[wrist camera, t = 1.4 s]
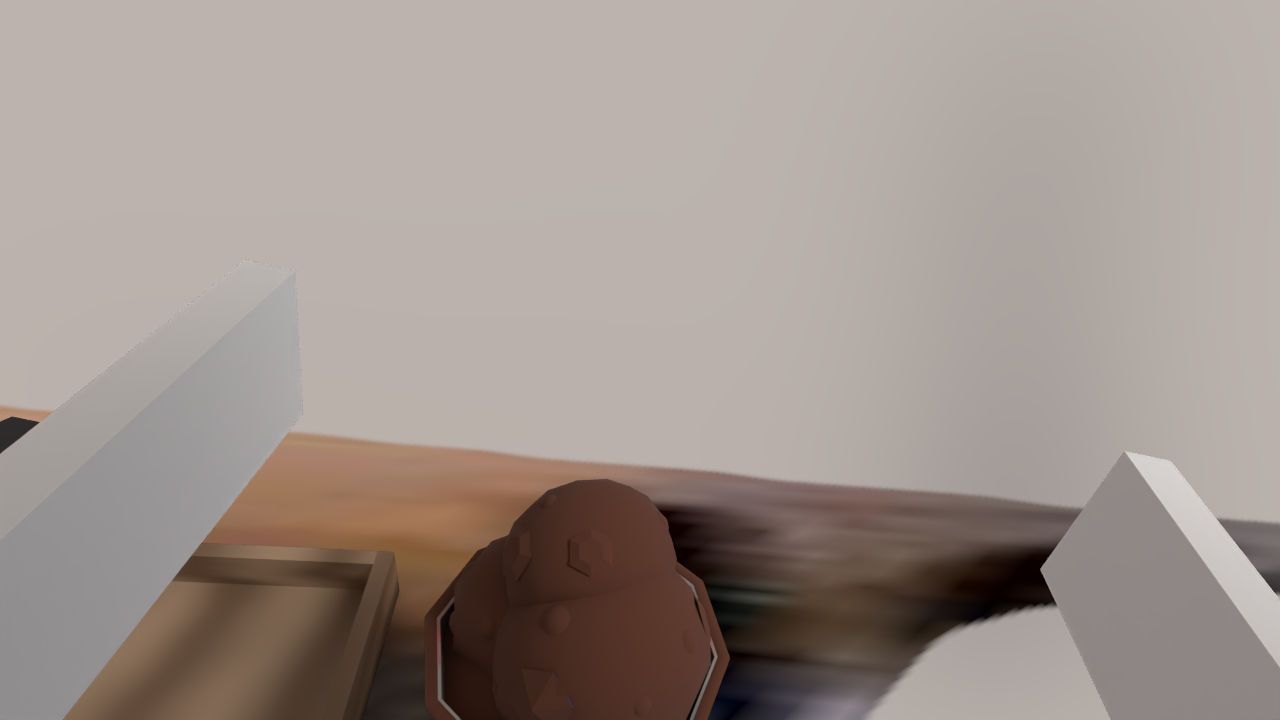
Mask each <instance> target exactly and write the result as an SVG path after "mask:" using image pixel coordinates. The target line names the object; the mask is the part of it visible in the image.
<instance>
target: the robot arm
mask: <svg viewBox="0 0 1280 720" xmlns="http://www.w3.org/2000/svg"><path fill="white" fill-rule="evenodd" d="M300 368H301V367H300V348H299V329H298V312H297V292H296V273H295V270H290V269H286V268H281V267H276V266H272V265H267V264H263V263H258V262H254V261H249V260H244V261H243V262H242V263H240V264H239V265H238V266H237V267H235V268H234V269H233V270H232V271H230V272H229V273H228V274H227V275H225V276H224V277H223V278H221V279H220V280H219V281H218V282H216V283H215V284H214V285H213V286H211V287H210V288H209V289H208V290H206V291H205V292H204V293H202V294H201V295H200V296H199V297H198V298H196V299H195V300H194V301H192V302H191V303H190V304H189V305H187V306H186V307H185V308H184V309H182V310H181V311H180V312H179V313H177V314H176V315H175V316H173V317H172V318H171V319H170V320H168V321H167V322H166V323H165V324H163V325H162V326H161V327H160V328H158V329H157V330H156V331H155V332H153V333H152V334H151V335H150V336H148V337H147V338H146V339H144V340H143V341H142V342H141V343H139V344H138V345H137V346H136V347H134V348H133V349H132V350H131V351H129V352H128V353H127V354H126V355H124V356H123V357H122V358H120V359H119V360H118V361H117V362H115V363H114V364H113V365H112V366H110V367H109V368H108V369H107V370H105V371H104V372H103V373H102V374H100V375H99V376H98V377H97V378H95V379H94V380H93V381H91V382H90V383H89V384H88V385H86V386H85V387H84V388H83V389H82V390H80V391H79V392H78V393H76V394H75V395H74V396H73V397H71V398H70V399H69V400H68V401H66V402H65V403H64V404H62V405H61V406H60V407H59V408H58V409H56V410H55V411H54V412H52V413H51V414H50V415H49V416H47V417H46V418H45V419H44V420H42V421H41V422H36V421H31V420H26V419H21V418H17V417H10V418H8V419H5V420H3V421H1V422H0V720H63V719H64V717H65V716H66V715H67V713H68V712H69V711H70V710H71V708H72V707H73V706H74V705H75V703H76V702H77V701H78V699H79V698H80V697H81V696H82V694H83V693H84V692H85V690H86V689H87V688H88V687H89V685H90V684H91V683H92V682H93V680H94V679H95V678H96V676H97V675H98V674H99V673H100V671H101V670H102V669H103V668H104V666H105V665H106V664H107V662H108V661H109V660H110V659H111V657H112V656H113V655H114V654H115V652H116V651H117V650H118V648H119V647H120V646H121V645H122V643H123V642H124V641H125V640H126V638H127V637H128V636H129V634H130V633H131V632H132V631H133V629H134V628H135V627H136V626H137V624H138V623H139V622H140V620H141V619H142V618H143V617H144V615H145V614H146V613H147V611H148V610H149V609H150V608H151V606H152V605H153V604H154V603H155V601H156V600H157V599H158V597H159V596H160V595H161V594H162V592H163V591H164V590H165V589H166V587H167V586H168V585H169V583H170V582H171V581H172V580H173V578H174V577H175V576H176V575H177V573H178V572H179V571H180V569H181V568H182V567H183V566H184V564H185V563H186V562H187V561H188V559H189V558H190V557H191V555H192V554H193V553H194V552H195V550H196V549H197V548H198V547H199V545H200V544H201V543H202V541H203V540H204V539H205V538H206V536H207V535H208V534H209V533H210V531H211V530H212V529H213V527H214V526H215V525H216V524H217V522H218V521H219V520H220V518H221V517H222V516H223V515H224V513H225V512H226V511H227V510H228V508H229V507H230V506H231V504H232V503H233V502H234V501H235V499H236V498H237V497H238V496H239V494H240V493H241V492H242V490H243V489H244V488H245V487H246V485H247V484H248V483H249V482H250V480H251V479H252V478H253V476H254V475H255V474H256V473H257V471H258V470H259V469H260V468H261V466H262V465H263V464H264V462H265V461H266V460H267V459H268V457H269V456H270V455H271V454H272V452H273V451H274V450H275V448H276V447H277V446H278V445H279V443H280V442H281V441H282V439H283V438H284V437H285V436H286V434H287V433H288V432H289V431H290V429H291V428H292V427H293V425H294V424H295V423H296V422H297V420H298V419H299V418H300V417H301V415H302V414H303V404H302V386H301V369H300ZM1040 570H1041V572H1042V574H1043V576H1044V578H1045V580H1046V582H1047V585H1048V587H1049V589H1050V591H1051V593H1052V595H1053V597H1054V599H1055V602H1056V604H1057V606H1058V608H1059V610H1060V612H1061V614H1062V616H1063V619H1064V621H1065V623H1066V625H1067V627H1068V629H1069V631H1070V633H1071V636H1072V637H1073V640H1074V642H1075V644H1076V646H1077V648H1078V650H1079V652H1080V655H1081V657H1082V659H1083V661H1084V663H1085V665H1086V667H1087V670H1088V672H1089V674H1090V676H1091V678H1092V680H1093V682H1094V684H1095V686H1096V689H1097V691H1098V693H1099V695H1100V697H1101V699H1102V701H1103V703H1104V706H1105V708H1106V710H1107V712H1108V714H1109V716H1110V718H1111V720H1280V599H1279V598H1278V597H1277V596H1276V594H1275V593H1274V592H1273V590H1272V589H1271V588H1270V587H1269V585H1268V584H1267V583H1266V582H1265V580H1264V579H1263V578H1262V576H1261V575H1260V574H1259V573H1258V571H1257V570H1256V569H1255V568H1254V566H1253V565H1252V564H1251V562H1250V561H1249V560H1248V559H1247V557H1246V556H1245V555H1244V554H1243V552H1242V551H1241V550H1240V548H1239V547H1238V546H1237V545H1236V543H1235V542H1234V541H1233V540H1232V538H1231V537H1230V536H1229V534H1228V533H1227V532H1226V531H1225V529H1224V528H1223V527H1222V525H1221V524H1220V523H1219V522H1218V520H1217V519H1216V518H1215V517H1214V515H1213V514H1212V513H1211V511H1210V510H1209V509H1208V508H1207V507H1206V505H1205V504H1204V503H1203V501H1202V500H1201V499H1200V498H1199V496H1198V495H1197V494H1196V492H1195V491H1194V490H1193V489H1192V487H1191V486H1190V485H1189V483H1188V482H1187V481H1186V480H1185V479H1184V477H1183V476H1182V475H1181V473H1180V472H1179V471H1178V469H1176V467H1175V466H1174V464H1173V463H1172V462H1171V461H1168V460H1163V459H1158V458H1154V457H1149V456H1145V455H1140V454H1136V453H1131V452H1127V451H1124V452H1123V454H1122V455H1121V457H1120V458H1119V459H1118V461H1117V462H1116V464H1115V465H1114V466H1113V468H1112V469H1111V471H1110V472H1109V474H1108V475H1107V477H1106V478H1105V479H1104V481H1103V482H1102V483H1101V485H1100V486H1099V488H1098V489H1097V491H1096V492H1095V493H1094V495H1093V496H1092V497H1091V499H1090V500H1089V502H1088V503H1087V504H1086V506H1085V507H1084V509H1083V510H1082V511H1081V513H1080V514H1079V516H1078V517H1077V519H1076V520H1075V521H1074V523H1073V524H1072V526H1071V527H1070V528H1069V530H1068V531H1067V533H1066V534H1065V535H1064V537H1063V538H1062V540H1061V541H1060V542H1059V544H1058V545H1057V547H1056V548H1055V550H1054V551H1053V552H1052V554H1051V555H1050V557H1049V558H1048V559H1047V561H1046V562H1045V564H1044V565H1043V566H1042V568H1041V569H1040Z"/></svg>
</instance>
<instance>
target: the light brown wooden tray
mask: <svg viewBox="0 0 1280 720" xmlns="http://www.w3.org/2000/svg"><path fill="white" fill-rule="evenodd" d="M398 593H399V584H398V577H397V570H396V563H395V556H394V552H387V551H365V550H343V549H322V548H300V547H278V546H256V545H235V544H213V543H201V544H200V545H199V547H198V548H197V549H196V550H195V552H194V553H193V554H192V555H191V557H190V558H189V559H188V561H187V562H186V563H185V564H184V566H183V567H182V568H181V569H180V571H179V572H178V573H177V575H176V576H175V577H174V578H173V580H172V581H171V582H170V583H169V585H168V586H167V587H166V589H165V590H164V591H163V592H162V594H161V595H160V596H159V597H158V599H157V600H156V601H155V603H154V604H153V605H152V606H151V608H150V609H149V610H148V611H147V613H146V614H145V615H144V617H143V618H142V619H141V620H140V622H139V623H138V624H137V626H136V627H135V628H134V629H133V631H132V632H131V633H130V634H129V636H128V637H127V638H126V640H125V641H124V642H123V643H122V645H121V646H120V647H119V648H118V650H117V651H116V652H115V654H114V655H113V656H112V657H111V659H110V660H109V661H108V662H107V664H106V665H105V666H104V668H103V669H102V670H101V671H100V673H99V674H98V675H97V676H96V678H95V679H94V680H93V682H92V683H91V684H90V685H89V687H88V688H87V689H86V690H85V692H84V693H83V694H82V696H81V697H80V698H79V699H78V701H77V702H76V703H75V705H74V706H73V707H72V708H71V710H70V711H69V712H68V713H67V715H66V716H65V717H64V719H63V720H362V718H363V715H364V711H365V708H366V704H367V701H368V697H369V694H370V691H371V687H372V684H373V680H374V677H375V673H376V670H377V666H378V663H379V659H380V656H381V652H382V649H383V645H384V642H385V638H386V635H387V631H388V628H389V624H390V621H391V618H392V614H393V611H394V607H395V604H396V600H397V597H398Z"/></svg>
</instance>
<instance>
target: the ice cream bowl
mask: <svg viewBox="0 0 1280 720" xmlns="http://www.w3.org/2000/svg"><path fill="white" fill-rule="evenodd" d="M668 528H669V526H668V523H667V519H666V518H665V517H664V516H663V515H662V514H661V513H660V512H659V510H658V509H657V508H656V507H655V505H654V504H653V503H652V501H651V500H650V499H649V498H648V496H646V495H644V494H642V493H640V492H639V491H637V490H635V489H633V488H631V487H629V486H626V485H623V484H620V483H617V482H614V481H611V480H608V479H599V480H578V481H574V482H571V483H568V484H565V485H562V486H559V487H557V488H554V489H551V490H548V491H547V492H546V493H545V494H544V495H542V496H541V497H540V498H539V499H538V500H537V501H536V502H535V503H533V504H532V505H531V506H530V507H529V508H528V509H527V510H526V511H525V512H524V513H523V514H522V515H521V516H520V517H519V518H518V519H517V520H516V521H515V522H514V524H513V526H512V528H511V531H510V533H509V535H508V536H505V537H502V538H499V539H497V540H494V541H492V542H491V543H490V544H489V545H488V546H487V547H486V548H483V549H480V550H478V551H477V552H476V553H475V554H474V556H473V557H472V558H471V559H470V561H469V562H468V563H467V564H466V566H465V567H464V568H463V569H462V571H461V572H460V573H459V574H458V576H457V577H456V578H455V579H454V581H453V582H452V583H451V584H450V586H449V587H448V588H447V589H446V591H445V592H444V593H443V594H442V596H441V597H440V598H439V599H438V601H437V602H436V603H435V604H434V606H433V607H432V608H431V609H430V611H429V612H428V613H427V614H426V616H425V707H426V709H427V710H428V712H429V714H430V716H431V717H432V719H433V720H707V719H708V716H709V713H710V711H711V708H712V705H713V702H714V700H715V697H716V694H717V692H718V689H719V686H720V684H721V681H722V678H723V676H724V673H725V670H726V668H727V665H728V662H729V660H730V657H729V654H728V651H727V648H726V646H725V643H724V640H723V637H722V634H721V631H720V629H719V626H718V623H717V620H716V617H715V614H714V611H713V609H712V606H711V603H710V600H709V597H708V594H707V592H706V589H705V586H704V583H703V581H702V580H701V579H700V578H698V577H697V576H696V575H694V574H693V573H691V572H690V571H689V570H687V569H686V568H685V567H683V566H682V565H681V564H679V563H678V562H677V561H676V559H677V558H676V554H675V551H674V547H673V543H672V540H671V536H670V534H669V532H668Z"/></svg>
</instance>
